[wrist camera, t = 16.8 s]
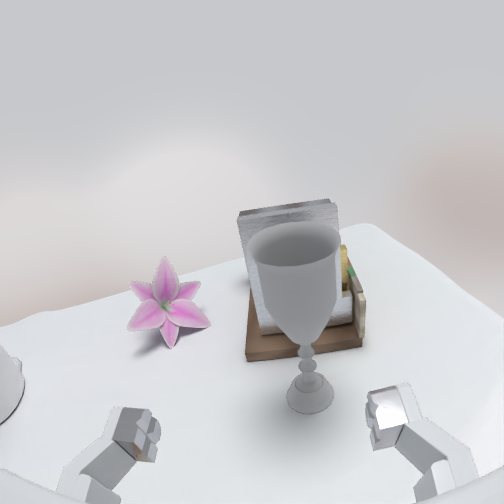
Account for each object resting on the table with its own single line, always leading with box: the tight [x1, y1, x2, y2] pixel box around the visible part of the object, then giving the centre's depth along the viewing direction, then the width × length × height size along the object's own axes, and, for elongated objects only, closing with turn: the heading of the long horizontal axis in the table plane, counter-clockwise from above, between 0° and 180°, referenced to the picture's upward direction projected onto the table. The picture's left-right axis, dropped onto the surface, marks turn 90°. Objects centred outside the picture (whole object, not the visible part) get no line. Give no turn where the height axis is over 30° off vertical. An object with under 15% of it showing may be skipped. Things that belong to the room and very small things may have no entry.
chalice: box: [246, 221, 341, 414], centre depth 26 cm, size 7×7×18 cm
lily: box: [127, 256, 211, 348], centre depth 44 cm, size 12×12×10 cm
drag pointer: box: [340, 245, 348, 292], centre depth 37 cm, size 1×1×9 cm
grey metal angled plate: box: [237, 203, 352, 335], centre depth 38 cm, size 11×9×15 cm
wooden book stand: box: [239, 199, 366, 362], centre depth 42 cm, size 14×20×12 cm
